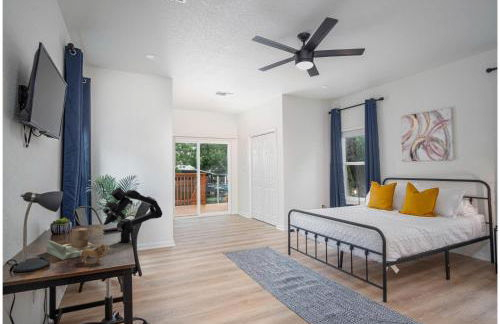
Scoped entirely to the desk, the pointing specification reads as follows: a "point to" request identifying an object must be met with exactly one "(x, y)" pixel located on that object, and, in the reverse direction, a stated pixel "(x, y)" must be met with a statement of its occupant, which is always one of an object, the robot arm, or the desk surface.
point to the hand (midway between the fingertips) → (104, 224)
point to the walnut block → (79, 238)
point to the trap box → (66, 250)
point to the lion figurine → (94, 253)
